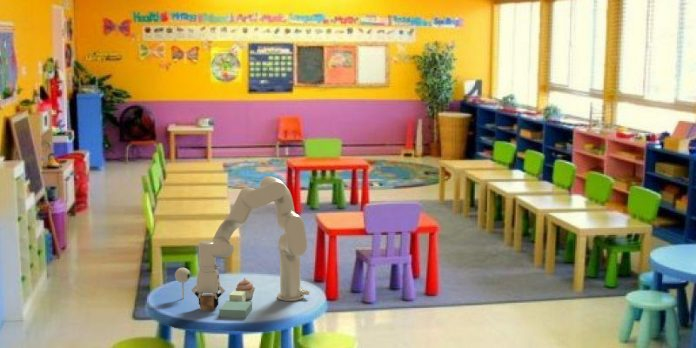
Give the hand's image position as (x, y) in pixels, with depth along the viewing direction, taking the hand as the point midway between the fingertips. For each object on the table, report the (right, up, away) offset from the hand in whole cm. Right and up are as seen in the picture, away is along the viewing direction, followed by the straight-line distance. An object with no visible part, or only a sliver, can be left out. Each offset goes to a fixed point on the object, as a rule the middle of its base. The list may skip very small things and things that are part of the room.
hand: (208, 306), depth 404 cm
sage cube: (+13, 0, +5) cm, 13 cm away
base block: (+13, -3, -6) cm, 15 cm away
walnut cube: (0, -1, 0) cm, 1 cm away
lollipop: (-14, +1, +15) cm, 21 cm away
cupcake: (+15, +1, +15) cm, 21 cm away
